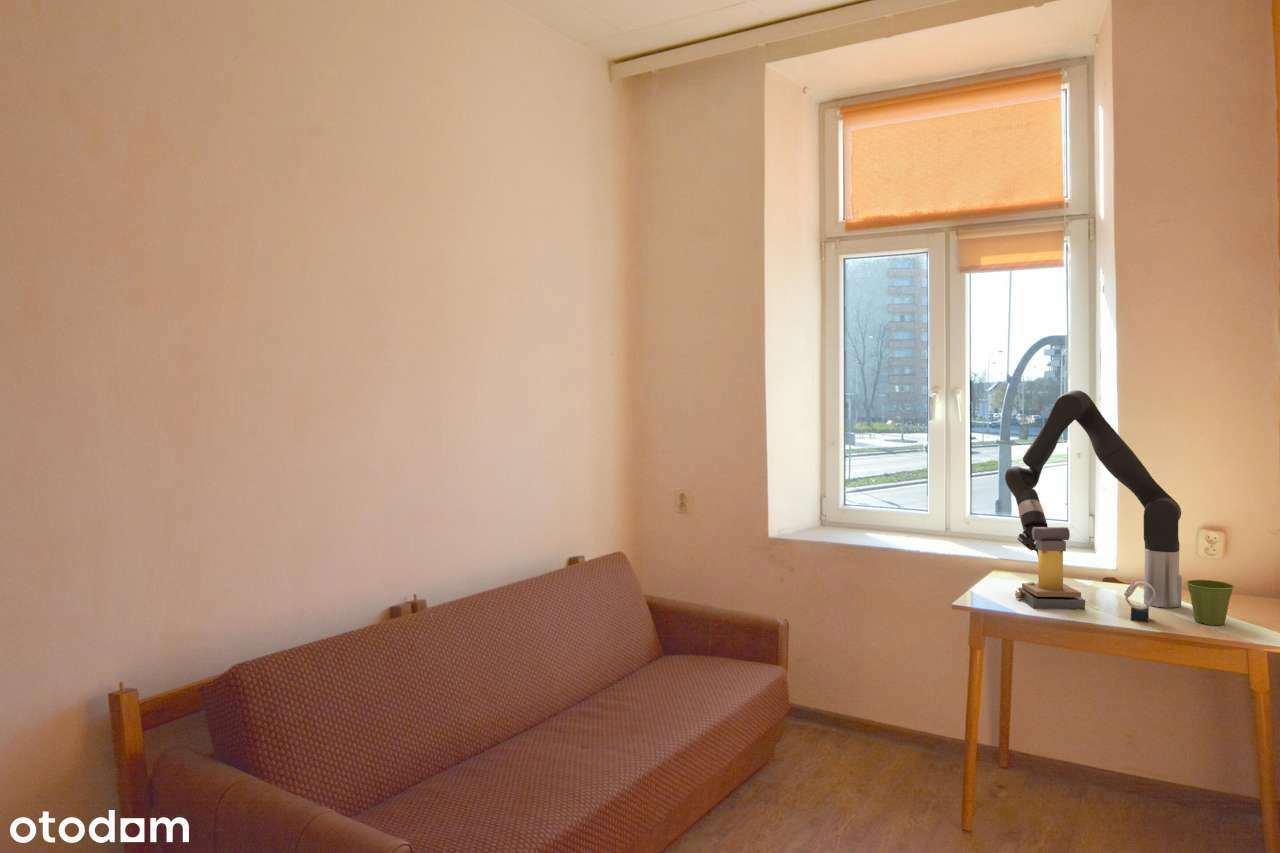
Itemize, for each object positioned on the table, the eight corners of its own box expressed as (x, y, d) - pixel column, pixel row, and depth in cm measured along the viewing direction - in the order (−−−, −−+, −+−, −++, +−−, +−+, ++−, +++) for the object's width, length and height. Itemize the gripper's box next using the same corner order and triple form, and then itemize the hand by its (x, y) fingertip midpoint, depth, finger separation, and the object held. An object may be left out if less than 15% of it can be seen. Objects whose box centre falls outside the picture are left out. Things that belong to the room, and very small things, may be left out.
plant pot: (1214, 616, 252) (1215, 578, 251) (1244, 627, 240) (1245, 588, 239) (1175, 617, 251) (1176, 579, 251) (1203, 628, 240) (1204, 588, 239)
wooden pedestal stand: (1064, 588, 275) (1064, 524, 275) (1081, 597, 261) (1080, 530, 261) (1022, 587, 277) (1021, 524, 277) (1036, 596, 263) (1036, 529, 263)
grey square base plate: (1070, 596, 277) (1070, 587, 277) (1090, 609, 261) (1090, 600, 260) (1011, 595, 279) (1011, 586, 279) (1028, 608, 263) (1028, 598, 263)
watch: (1123, 615, 254) (1124, 578, 254) (1155, 618, 250) (1156, 581, 250) (1123, 619, 250) (1123, 582, 249) (1155, 623, 245) (1155, 585, 245)
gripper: (1014, 509, 284) (1025, 553, 272) (1055, 509, 282) (1069, 553, 271) (1008, 522, 289) (1020, 566, 278) (1049, 523, 288) (1062, 566, 276)
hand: (1044, 560), depth 274 cm, fingers closed
